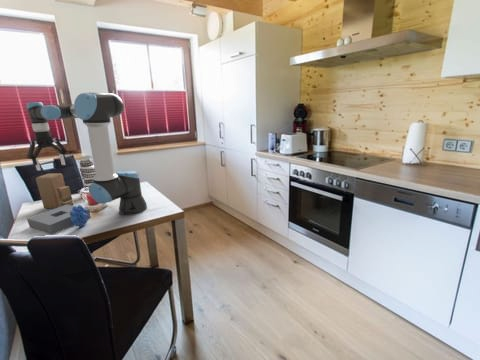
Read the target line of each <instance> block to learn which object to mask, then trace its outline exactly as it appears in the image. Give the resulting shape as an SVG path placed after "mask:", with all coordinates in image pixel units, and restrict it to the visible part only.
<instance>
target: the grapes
mask: <svg viewBox="0 0 480 360" xmlns="http://www.w3.org/2000/svg"><path fill="white" fill-rule="evenodd" d="M73 206H74V207H73V208H72V210H73V211H71V212H70V215H71V216H73V217H71V218H70V221H71V222H74V223H73V226H74V227H75V228H77V227H78V228H83V227H84V226H85V224H87V223H88V219H87V218H88V215H87V214H86V212H87V210H86V209H87V208H86V209H85V207H83V205H80V204H79V205H73Z"/></svg>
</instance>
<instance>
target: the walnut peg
mask: <svg viewBox="0 0 480 360" xmlns="http://www.w3.org/2000/svg"><path fill="white" fill-rule="evenodd" d="M57 192H58V196H59V199H60V203H61V206H63V205H66V204H67V205H72V206H75V204H74V200H73V198H72V193H71V189H70V186H69V185H65V186H62V187H58V188H57Z"/></svg>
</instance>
